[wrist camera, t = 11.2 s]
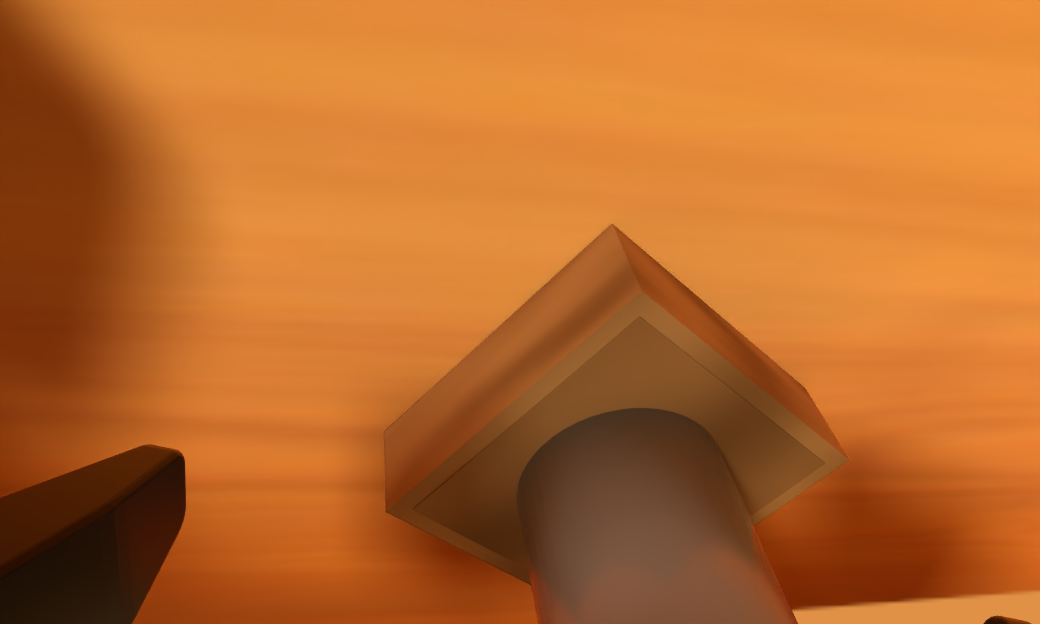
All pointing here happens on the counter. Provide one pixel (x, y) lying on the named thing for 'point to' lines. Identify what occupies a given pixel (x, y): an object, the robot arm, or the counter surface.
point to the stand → (596, 400)
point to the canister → (642, 528)
